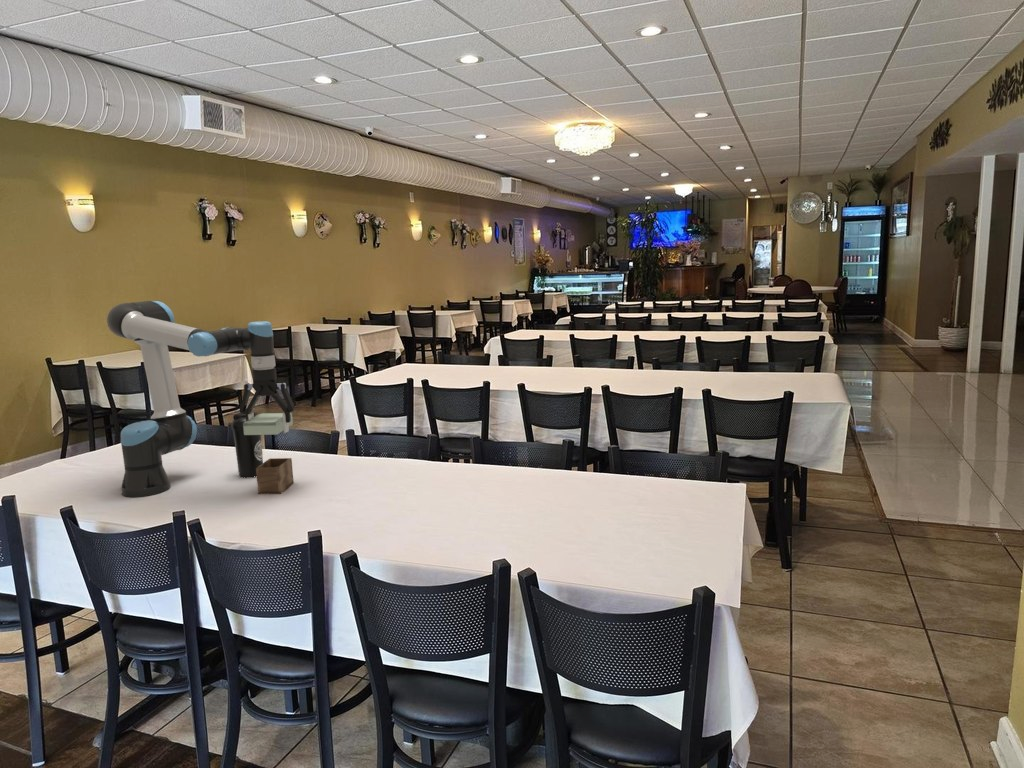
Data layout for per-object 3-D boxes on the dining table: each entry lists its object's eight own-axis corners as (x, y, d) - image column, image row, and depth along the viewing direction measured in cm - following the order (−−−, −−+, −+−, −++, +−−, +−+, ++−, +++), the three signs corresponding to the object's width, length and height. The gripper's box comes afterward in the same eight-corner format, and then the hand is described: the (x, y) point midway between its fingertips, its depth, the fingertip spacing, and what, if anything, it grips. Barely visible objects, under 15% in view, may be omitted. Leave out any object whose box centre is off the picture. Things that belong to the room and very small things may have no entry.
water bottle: (260, 478, 257) (254, 416, 253) (232, 479, 257) (225, 416, 253) (270, 470, 267) (264, 410, 263) (243, 470, 267) (237, 410, 263)
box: (281, 493, 238) (278, 467, 237) (258, 494, 239) (255, 468, 237) (293, 482, 250) (291, 458, 248) (271, 483, 250) (269, 458, 249)
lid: (276, 434, 233) (275, 422, 232) (244, 435, 234) (242, 423, 233) (293, 424, 248) (292, 412, 247) (262, 424, 249) (261, 413, 248)
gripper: (224, 370, 234) (230, 435, 238) (294, 369, 233) (299, 434, 237) (234, 367, 242) (240, 430, 245) (302, 365, 240) (307, 429, 244)
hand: (269, 432), depth 241 cm, fingers closed on lid, 11 cm apart
